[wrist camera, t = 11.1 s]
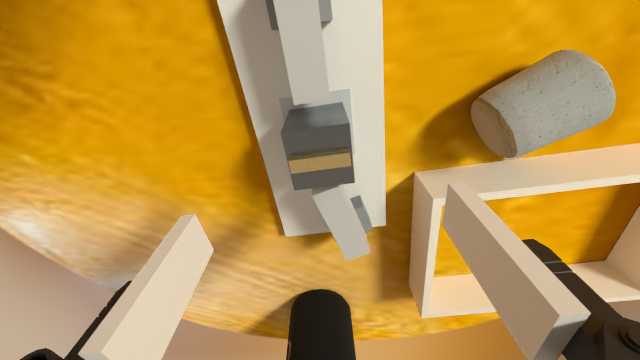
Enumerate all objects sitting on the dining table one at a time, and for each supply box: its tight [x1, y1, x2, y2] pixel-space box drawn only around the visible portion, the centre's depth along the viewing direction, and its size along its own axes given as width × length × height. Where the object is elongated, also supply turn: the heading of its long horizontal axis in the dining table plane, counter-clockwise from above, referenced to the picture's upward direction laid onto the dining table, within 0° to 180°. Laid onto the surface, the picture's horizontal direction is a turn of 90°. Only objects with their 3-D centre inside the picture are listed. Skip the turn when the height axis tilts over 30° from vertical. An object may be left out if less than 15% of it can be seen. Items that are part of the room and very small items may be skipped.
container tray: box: [409, 143, 640, 318], centre depth 33 cm, size 22×32×6 cm
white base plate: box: [217, 0, 386, 260], centre depth 25 cm, size 30×14×7 cm, turn 8°
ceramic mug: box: [470, 50, 616, 159], centre depth 24 cm, size 11×8×8 cm
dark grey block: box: [281, 102, 355, 191], centre depth 23 cm, size 6×6×8 cm
